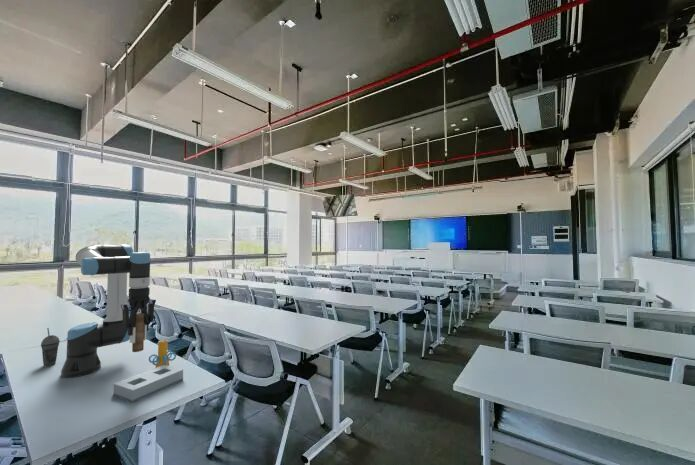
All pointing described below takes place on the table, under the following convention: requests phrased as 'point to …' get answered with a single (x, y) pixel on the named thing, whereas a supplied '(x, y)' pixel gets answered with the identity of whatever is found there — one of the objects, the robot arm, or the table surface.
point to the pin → (139, 333)
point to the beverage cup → (50, 349)
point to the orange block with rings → (162, 355)
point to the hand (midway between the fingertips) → (138, 340)
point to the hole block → (147, 383)
